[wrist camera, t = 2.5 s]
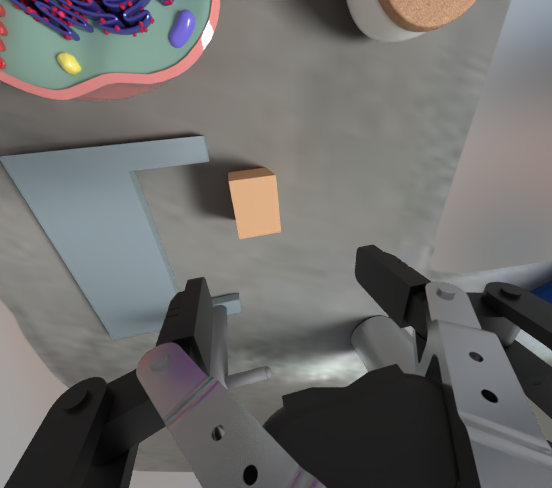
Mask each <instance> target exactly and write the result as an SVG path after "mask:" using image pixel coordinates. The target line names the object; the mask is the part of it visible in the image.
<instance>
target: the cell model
mask: <svg viewBox="0 0 552 488" xmlns="http://www.w3.org/2000/svg"><path fill="white" fill-rule="evenodd" d="M219 10H220V0H0V80H1V81H3V82H5V83H7V84H9V85H12V86H14V87H16V88H19V89H21V90H24V91H26V92H29V93H31V94H35V95H38V96H42V97H45V98H49V99H54V100H76V101H107V100H120V99H127V98H130V97H133V96H135V95H138V94H141V93H144V92H148V91H151V90H154V89H157V88H159V87H160V86H162V85H163V84H165V83H166V82H168V81H169V80H171V79H173V78H174V77H176V76H178V75H180V74H181V73H183V72H184V71H186V70H188V69H189V68H190V67H191V66H192V65H193V64H194V63H195V62H196V61H197V59H198V58H199V57H200V56H201V54H202V52H203V51H204V49H205V48H206V46H207V45H208V43H209V42H210V40H211V38H212V35H213V33H214V30H215V28H216V25H217V22H218V16H219Z"/></svg>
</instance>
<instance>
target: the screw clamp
mask: <svg viewBox="0 0 552 488" xmlns="http://www.w3.org/2000/svg"><path fill="white" fill-rule="evenodd" d="M0 160H1V162H2V164H3V165H4V167H5V168H6V170H7V172H8V173H9V175H10V176H11V178H12V180H13V181H14V183H15V184H16V186H17V188H18V189H19V191H20V192H21V194H22V195H23V197H24V199H25V200H26V202H27V203H28V205H29V207H30V208H31V210H32V211H33V213H34V215H35V216H36V218H37V219H38V221H39V223H40V224H41V226H42V227H43V229H44V231H45V232H46V234H47V235H48V237H49V238H50V240H51V242H52V243H53V245H54V246H55V248H56V250H57V251H58V253H59V254H60V256H61V258H62V259H63V261H64V262H65V264H66V266H67V267H68V269H69V270H70V272H71V274H72V275H73V277H74V278H75V280H76V281H77V283H78V285H79V286H80V288H81V289H82V291H83V293H84V294H85V296H86V297H87V299H88V301H89V302H90V304H91V305H92V307H93V309H94V310H95V312H96V313H97V315H98V317H99V318H100V320H101V321H102V323H103V324H104V326H105V328H106V329H107V331H108V332H109V334H110V336H111V337H112V339H113V340H117V339H122V338H126V337H131V336H135V335H140V334H144V333H149V332H154V331H158V330H161V328H162V325H163V322H164V319H165V316H166V313H167V311H168V307H169V304H170V301H171V300H172V299H173V297H174V296H175V295H176V294H177V293H178V292H179V289H178V286H177V284H176V281H175V278H174V276H173V273H172V270H171V267H170V265H169V262H168V259H167V257H166V254H165V251H164V249H163V246H162V243H161V241H160V238H159V235H158V233H157V230H156V227H155V225H154V222H153V219H152V216H151V214H150V211H149V208H148V206H147V203H146V200H145V198H144V195H143V192H142V190H141V187H140V184H139V182H138V179H137V176H136V174H135V171H136V170H145V169H153V168H161V167H170V166H178V165H187V164H195V163H203V162H209V161H210V159H209V154H208V150H207V145H206V141H205V136H196V137H186V138H176V139H166V140H157V141H147V142H137V143H127V144H117V145H108V146H98V147H88V148H78V149H68V150H59V151H49V152H39V153H29V154H19V155H10V156H0ZM211 300H212V304H213V330H212V346H211V362H210V377H209V378H211V377H214V378H216V379H217V380H218V381H219V382H220V383H221V384H222V385H223V386H224V387H225V388H226V389H227V390H229V389H232V388H236V387H240V386H244V385H247V384H251V383H255V382H259V381H262V380H266V379H269V378H270V376H271V369H270V368H269V367H267V366H264V367H261V368H257V369H253V370H249V371H245V372H241V373H237V374H233V375H229V376H228V352H227V315H232V314H236V313H241V312H242V307H241V302H240V297H239V293H236V294H231V295H227V296H222V297H217V298H212V299H211Z"/></svg>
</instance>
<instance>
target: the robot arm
mask: <svg viewBox="0 0 552 488" xmlns="http://www.w3.org/2000/svg"><path fill="white" fill-rule="evenodd" d="M355 276H356V279H357V281H358V283H359V284H360V285H361V286H362V287H363V288H364V289H365V290H366V291H367V293H368V294H369V295H370V296H371V297H372V298H373V299H374V300H375V301H376V302H377V303H378V305H379V306H380V307H381V308H382V309H383V310H384V311H385V312H386V313H387V314H388V315H389V317H390V318H388V317H385V316H376V317H372V318H370V319H367V320H366V321H364V322H362V323H361V324H360V325H359V326H358V327H357V328H356V329H355V330H354V332H353V334H352V336H351V343H352V346H353V347H354V349H355V351H356V353H357V354H358V355H359V357H360V359H361V360H362V362H363V364H364V365H365V367H366V369H367V370H368V373H366V374H365V375H364V376H362V377H361V378H359V379H358V380H356V381H355V382H353V383H352V384H350V385H349V386H347V387H342V388H341V387H312V388H308V389H305V390H301V391H298V392H294V393H291V394H287V395H284V396H282V399H283V407H282V408H280V409H279V410H277V411H276V412H275V413H274V414H273V415H272V416H271V417H270V418H269V419H268V420H267V421H266V422H265V423H264V425H263V426H261V425H260V424H259V423H258V422H257V421H256V420H255V419H254V417H253V416H252V415H251V414H250V413H249V412H248V411H247V410H246V409H245V408H244V407H243V406H242V405H241V404H240V403H239V402H238V401H237V400H236V399H235V398H234V397H233V395H232V394H231V393H230V392H229V391H228V390H227V389H226V388H225V387H224V386H223V385H222V384H221V383H220V382H219V381H218V380H217V379H216V378H214V377H211V378H209V377H210V362H211V346H212V330H213V304H212V300H211V296H210V293H209V290H208V286H207V283H206V280H205V278H204V277H200V278H195V279H190V280H188V281H187V284H186V287H185V291H183V292H178V293H177V294H176V295H175V296H174V297H173V299H172V300H171V301H170V304H169V307H168V311H167V313H166V316H165V319H164V322H163V325H162V328H161V331H160V334H159V337H158V340H157V343H156V347H154V348H153V349H151V350H150V351H149V352H147V353H146V354H145V355H144V356H143V358H142V359H141V360H140V362H139V364H138V366H137V369H135V370H133V371H132V372H130V373H128V374H126V375H124V376H122V377H120V378H118V379H116V380H114V381H112V382H110V383H108V384H107V383H106V381H105V380H104V379H102V378H100V377H93V378H88V379H86V380H83V381H81V382H79V383H77V384H75V385H74V386H72V387H71V388H70V389H68V390H67V391H66V392H65V393H63V394H62V395H61V396H60V397H59V398H58V399H57V400H56V402H55V403H54V404H53V405H52V407H51V408H50V410H49V412H48V413H47V415H46V417H45V419H44V420H43V422H42V424H41V426H40V427H39V429H38V430H37V432H36V434H35V435H34V438H33V439H32V441H31V442H30V444H29V446H28V447H27V449H26V451H25V452H24V454H23V456H22V458H21V459H20V461H19V463H18V464H17V466H16V468H15V470H14V471H13V473H12V475H11V476H10V478H9V480H8V481H7V483H6V485H5V487H4V488H129V484H130V480H131V476H132V471H133V467H134V463H135V458H136V454H137V450H138V445H139V443H140V442H141V441H143V440H145V439H146V438H148V437H149V436H151V435H153V434H154V433H156V432H157V431H159V430H160V429H162V428H164V427H165V426H166V427H167V429H168V430H169V432H170V434H171V435H172V437H173V439H174V441H175V442H176V444H177V446H178V447H179V449H180V451H181V452H182V454H183V456H184V457H185V459H186V461H187V462H188V464H189V466H190V467H191V469H192V471H193V472H194V474H195V476H196V478H197V479H198V481H199V482H200V484H201V486H202V488H552V442H550V441H548V440H546V438H545V436H544V434H543V432H542V430H541V427H540V425H539V423H538V421H537V419H536V417H535V415H534V413H533V411H532V409H531V406H530V404H529V402H528V400H527V398H526V396H527V397H528V398H529V399H530V400H531V401H533V402H534V403H535V404H536V405H537V406H538V407H539V408H540V409H541V410H542V411H544V412H545V413H546V414H547V415H548V416H549V417H550V418H551V419H552V367H551V366H550V365H548V364H547V363H546V362H544V361H543V360H542V359H540V358H539V357H538V356H536V355H535V354H534V353H532V352H531V351H530V350H528V349H527V348H526V347H524V346H523V345H522V344H520V343H519V342H518V341H516V340H515V338H516V336H517V334H518V333H519V331H520V329H522V330H524V331H525V332H527V333H528V334H529V335H531V336H532V337H534V338H535V339H537V340H538V341H540V342H541V343H542V344H544V345H545V346H547V347H548V348H549V349H550V350H552V304H550V303H549V302H547V301H545V300H543V299H541V298H539V297H537V296H536V295H534V294H532V293H530V292H528V291H526V290H524V289H522V288H520V287H518V286H515V285H512V284H508V283H502V282H491V283H488V284H487V285H486V287H485V289H484V291H483V293H466V292H465V291H463V290H462V289H461V288H459V287H457V286H455V285H453V284H450V283H446V282H439V281H435V282H431V281H430V280H428V279H427V278H425V277H424V276H423V275H421V274H420V273H418V272H417V271H415V270H414V269H413V268H411V267H409V266H408V265H407V264H405V263H404V262H402V261H401V260H400V259H398V258H397V257H396V256H394V255H391V254H389V253H386V252H383V251H382V250H380V249H379V248H378V247H376V246H375V245H368V246H363V247H359V248H358V249H357V254H356V265H355ZM408 326H412V327H413V328H414V330H413V334H412V335H413V337H412V336H411V335H410V334H409V333H408V331H407V330H406V329H405V328H404V327H408ZM525 395H526V396H525Z"/></svg>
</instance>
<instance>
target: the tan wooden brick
mask: <svg viewBox="0 0 552 488" xmlns="http://www.w3.org/2000/svg"><path fill="white" fill-rule="evenodd" d="M228 180H229V186H230V191H231V197H232V205H233V210H234V213H235V218H236V223H237V228H238V234H239V239H243V238H249V237H255V236H261V235H267V234H273V233H278V232H281V227H280V216H279V205H278V194H277V183H276V175H275V174H274V173H272V172H271V171H270V170H268V169H267V168H258V169H250V170H242V171H234V172H228Z"/></svg>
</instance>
